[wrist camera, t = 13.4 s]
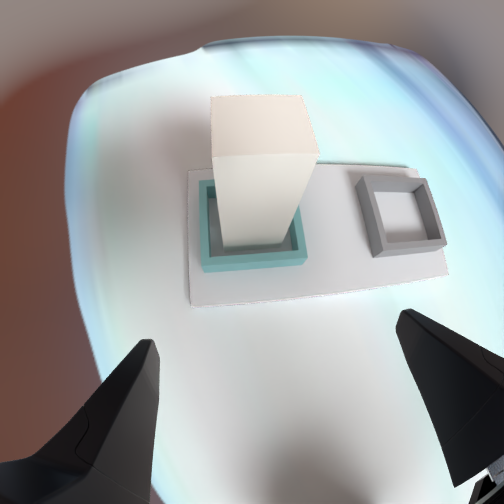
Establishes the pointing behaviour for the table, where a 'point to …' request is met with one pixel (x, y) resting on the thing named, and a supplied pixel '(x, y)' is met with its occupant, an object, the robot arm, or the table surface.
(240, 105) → the plug
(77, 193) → the table surface
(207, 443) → the table surface
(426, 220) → the socket board
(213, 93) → the table surface
